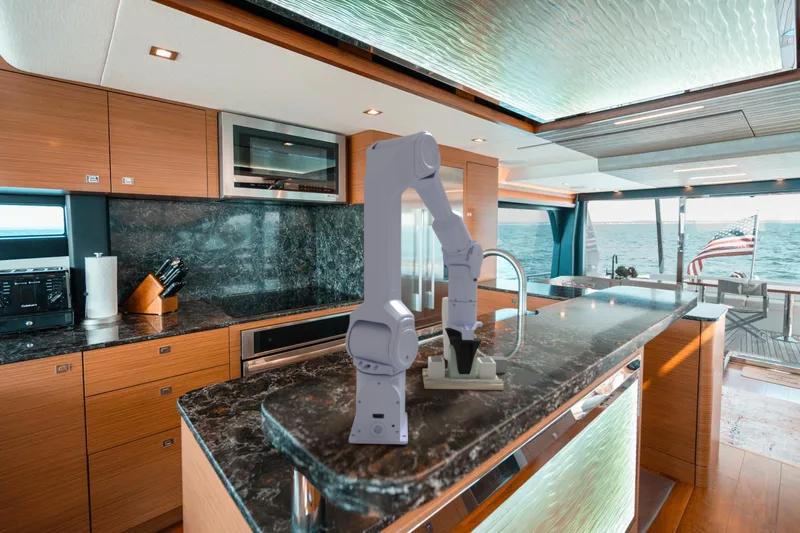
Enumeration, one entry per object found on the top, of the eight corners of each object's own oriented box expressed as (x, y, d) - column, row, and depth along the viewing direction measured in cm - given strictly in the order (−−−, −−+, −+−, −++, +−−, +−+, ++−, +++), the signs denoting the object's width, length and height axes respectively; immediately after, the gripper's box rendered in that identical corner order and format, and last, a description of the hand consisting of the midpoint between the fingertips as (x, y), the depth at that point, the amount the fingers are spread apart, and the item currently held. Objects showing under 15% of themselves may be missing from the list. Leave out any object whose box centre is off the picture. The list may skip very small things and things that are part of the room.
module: (475, 380, 74) (476, 349, 73) (450, 380, 74) (450, 349, 73) (471, 374, 78) (472, 344, 77) (447, 373, 78) (448, 344, 77)
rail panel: (503, 389, 72) (503, 384, 72) (424, 388, 72) (424, 383, 72) (493, 376, 80) (493, 371, 80) (422, 374, 80) (422, 370, 80)
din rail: (502, 383, 72) (502, 380, 72) (424, 381, 72) (424, 378, 72) (494, 372, 79) (494, 369, 79) (422, 371, 79) (422, 368, 79)
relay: (506, 373, 82) (506, 359, 82) (488, 373, 82) (488, 359, 82) (503, 369, 85) (503, 356, 85) (485, 368, 85) (485, 355, 85)
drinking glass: (435, 359, 91) (436, 298, 91) (451, 354, 96) (452, 296, 96) (458, 365, 87) (459, 300, 86) (474, 359, 92) (475, 298, 91)
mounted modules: (495, 381, 74) (496, 362, 73) (429, 379, 74) (429, 361, 74) (490, 374, 78) (491, 357, 77) (427, 373, 78) (428, 356, 78)
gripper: (491, 305, 68) (489, 380, 68) (475, 296, 82) (474, 357, 83) (451, 305, 68) (450, 379, 68) (443, 295, 82) (442, 357, 83)
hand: (461, 367), depth 76 cm, fingers open, 7 cm apart
